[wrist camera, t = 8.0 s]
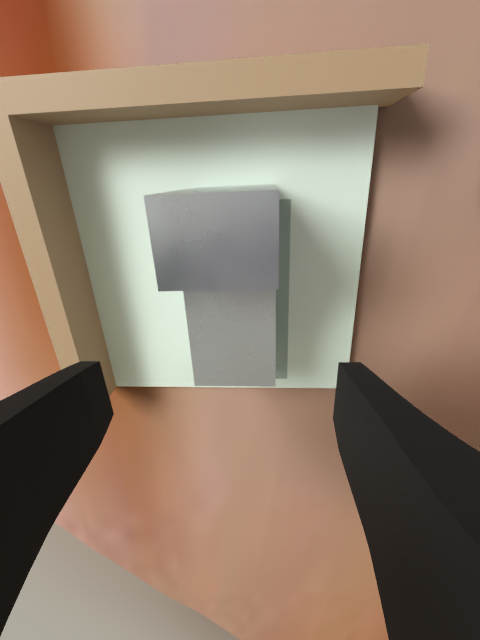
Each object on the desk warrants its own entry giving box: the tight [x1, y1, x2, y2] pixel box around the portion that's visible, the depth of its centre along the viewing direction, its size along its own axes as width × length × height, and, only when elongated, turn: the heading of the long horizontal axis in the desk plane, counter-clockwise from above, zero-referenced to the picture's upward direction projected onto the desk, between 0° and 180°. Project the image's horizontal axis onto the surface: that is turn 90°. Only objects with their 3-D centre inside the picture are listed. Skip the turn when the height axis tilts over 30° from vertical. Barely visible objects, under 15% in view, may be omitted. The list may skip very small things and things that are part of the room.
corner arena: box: [0, 44, 430, 396], centre depth 16 cm, size 17×16×4 cm
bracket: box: [143, 184, 279, 387], centre depth 14 cm, size 9×4×7 cm, turn 2°
